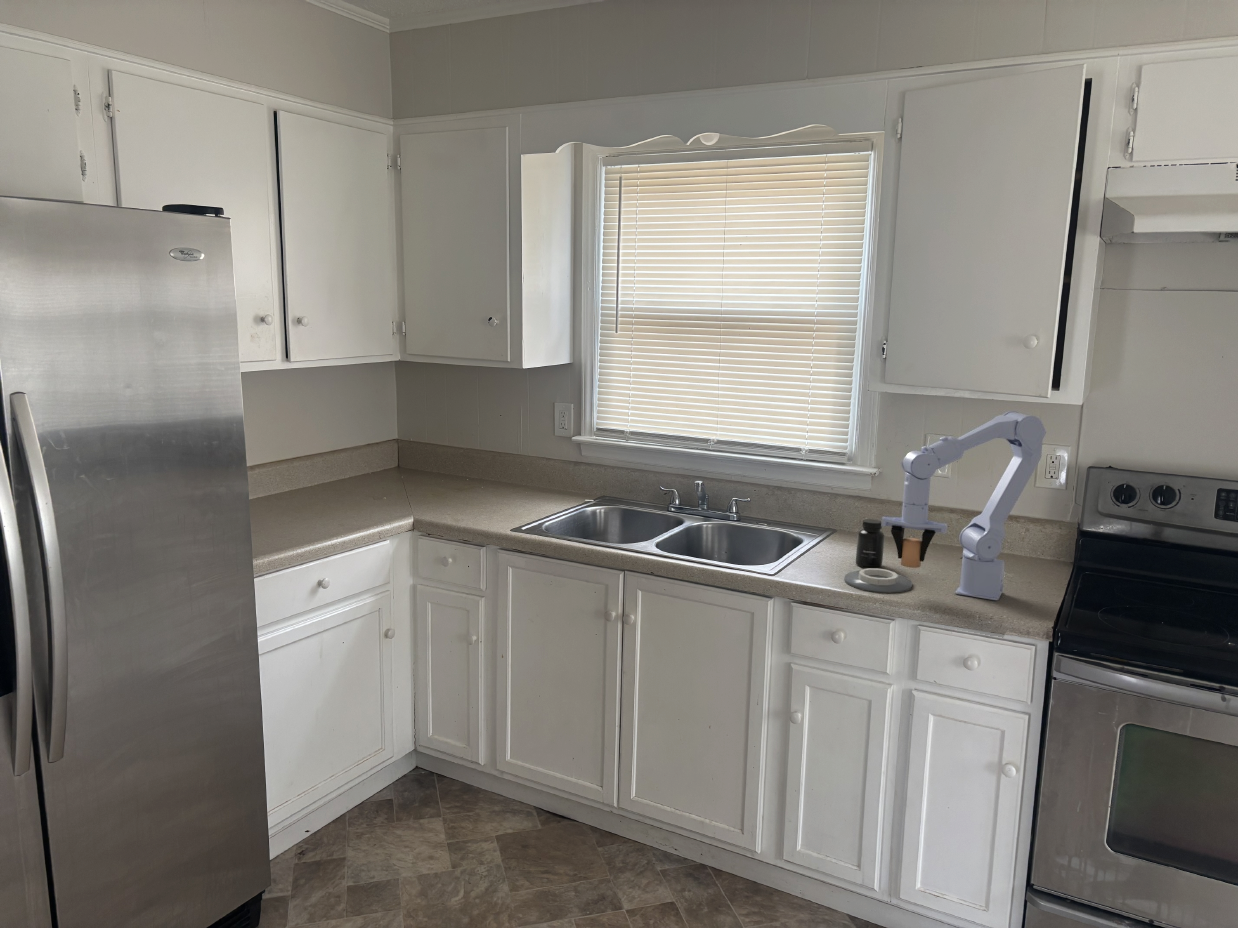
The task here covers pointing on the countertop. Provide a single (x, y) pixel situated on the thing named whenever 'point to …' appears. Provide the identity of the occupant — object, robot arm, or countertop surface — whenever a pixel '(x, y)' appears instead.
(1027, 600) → the countertop surface
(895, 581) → the tray
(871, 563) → the supplement bottle
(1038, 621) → the countertop surface
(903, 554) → the tan rounded block
